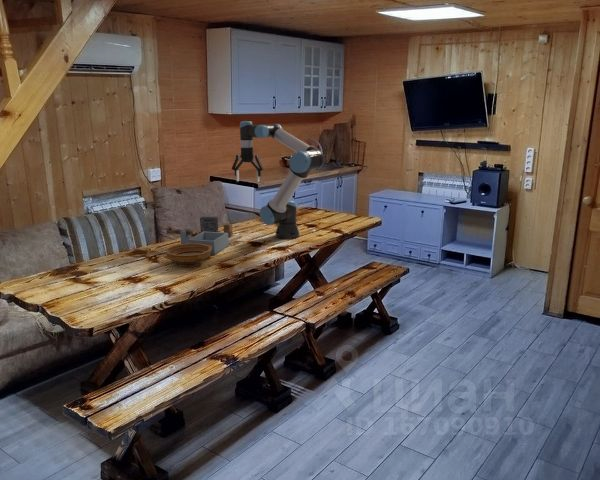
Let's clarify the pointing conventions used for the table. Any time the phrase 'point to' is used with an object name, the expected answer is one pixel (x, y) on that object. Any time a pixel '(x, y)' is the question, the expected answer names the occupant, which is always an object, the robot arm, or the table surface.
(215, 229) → the small box
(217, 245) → the toolbox
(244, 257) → the table surface
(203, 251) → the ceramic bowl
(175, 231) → the latch
